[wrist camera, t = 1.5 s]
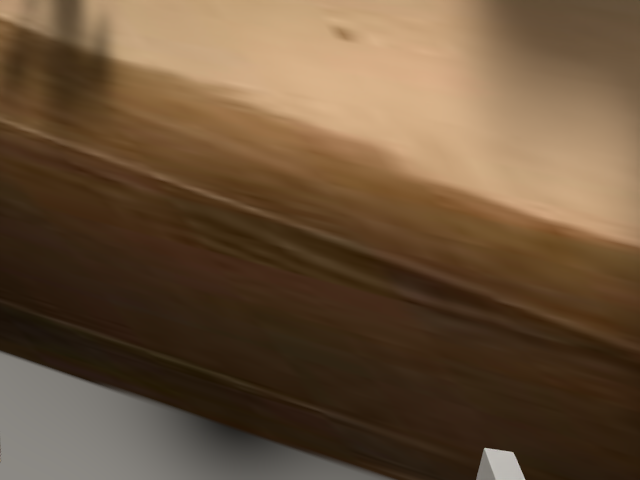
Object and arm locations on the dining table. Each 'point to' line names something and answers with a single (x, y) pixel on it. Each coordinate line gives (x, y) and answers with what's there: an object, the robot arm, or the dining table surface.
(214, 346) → the dining table surface
